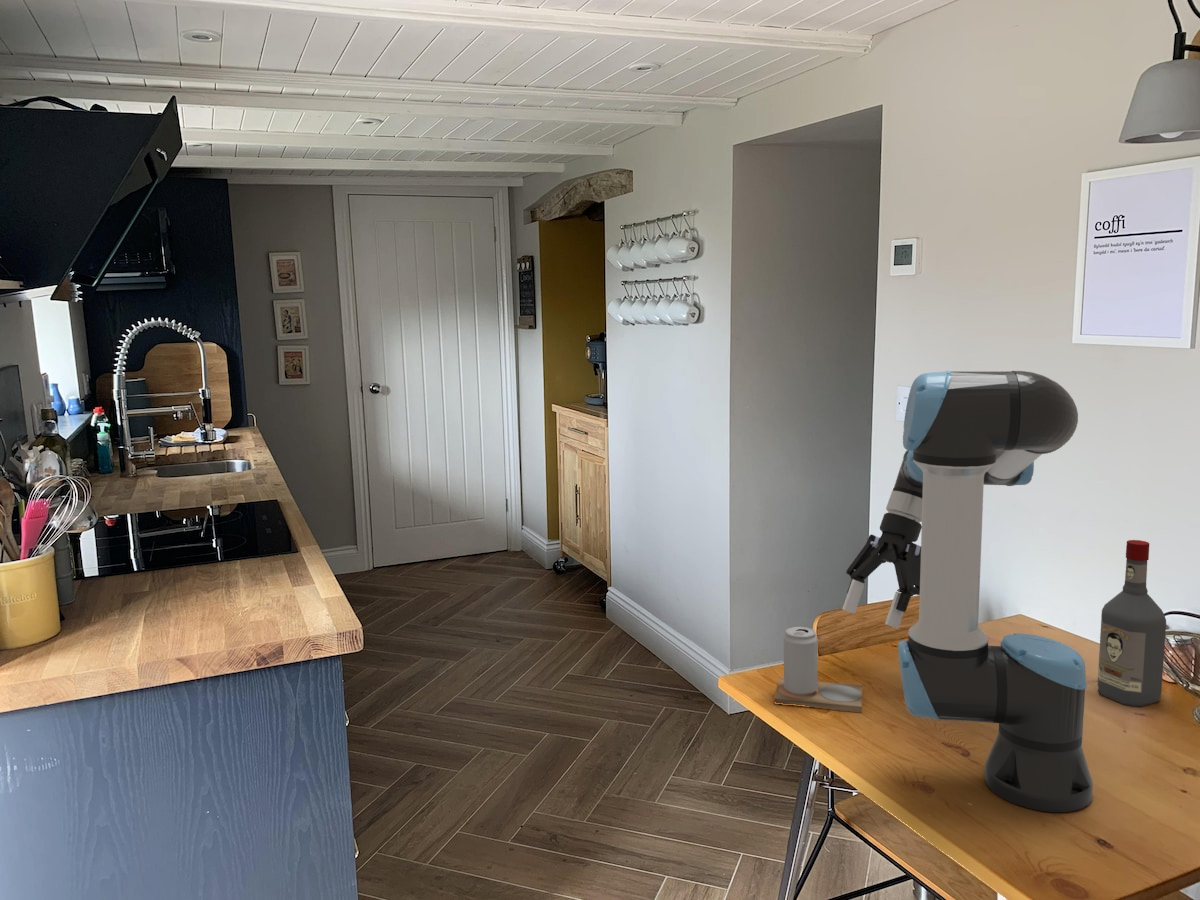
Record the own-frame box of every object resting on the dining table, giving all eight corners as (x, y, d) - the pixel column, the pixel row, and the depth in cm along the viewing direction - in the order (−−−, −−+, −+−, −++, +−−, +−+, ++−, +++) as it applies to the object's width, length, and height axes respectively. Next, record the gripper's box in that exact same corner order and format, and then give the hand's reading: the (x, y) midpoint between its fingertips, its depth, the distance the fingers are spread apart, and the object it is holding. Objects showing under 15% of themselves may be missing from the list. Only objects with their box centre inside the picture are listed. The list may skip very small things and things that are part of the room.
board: (861, 712, 169) (861, 706, 169) (774, 704, 174) (774, 697, 174) (862, 691, 179) (862, 684, 178) (779, 683, 183) (779, 677, 183)
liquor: (1123, 682, 179) (1132, 534, 175) (1167, 700, 171) (1178, 544, 166) (1090, 691, 176) (1098, 539, 171) (1133, 709, 167) (1143, 551, 163)
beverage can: (822, 688, 177) (822, 628, 176) (810, 700, 172) (810, 639, 170) (791, 681, 181) (791, 623, 179) (778, 693, 176) (778, 633, 174)
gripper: (962, 531, 171) (926, 639, 169) (878, 517, 194) (846, 611, 192) (933, 518, 168) (895, 627, 166) (851, 505, 192) (817, 600, 190)
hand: (869, 619), depth 179 cm, fingers open, 13 cm apart
